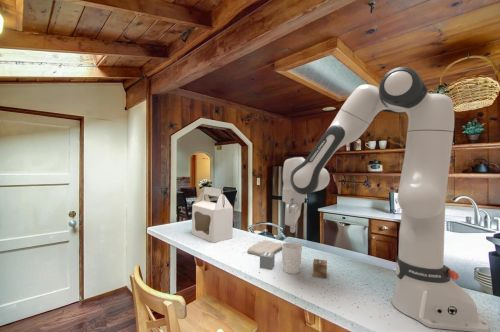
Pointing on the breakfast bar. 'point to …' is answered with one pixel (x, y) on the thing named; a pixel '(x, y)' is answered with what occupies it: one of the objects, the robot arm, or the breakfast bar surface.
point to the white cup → (291, 257)
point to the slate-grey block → (267, 260)
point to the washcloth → (265, 248)
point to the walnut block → (320, 268)
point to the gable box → (212, 216)
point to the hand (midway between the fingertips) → (292, 231)
